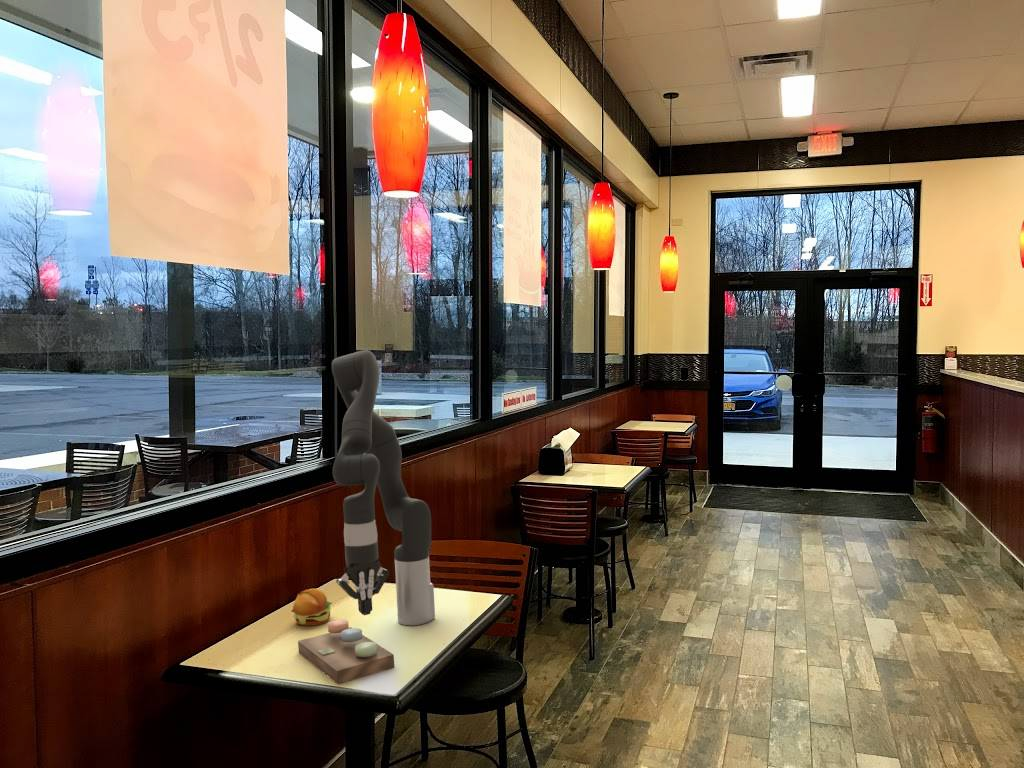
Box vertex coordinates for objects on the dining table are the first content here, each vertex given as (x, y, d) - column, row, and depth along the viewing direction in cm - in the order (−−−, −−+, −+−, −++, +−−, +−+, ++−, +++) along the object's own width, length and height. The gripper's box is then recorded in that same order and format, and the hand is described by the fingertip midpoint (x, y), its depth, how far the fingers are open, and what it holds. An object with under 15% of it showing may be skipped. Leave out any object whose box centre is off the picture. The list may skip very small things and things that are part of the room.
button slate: (357, 633, 198) (356, 626, 197) (365, 638, 193) (365, 632, 193) (337, 638, 195) (337, 631, 195) (346, 644, 191) (345, 637, 190)
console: (351, 638, 207) (350, 625, 207) (394, 667, 187) (393, 653, 187) (298, 652, 199) (297, 639, 199) (337, 684, 179) (336, 669, 179)
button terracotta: (343, 624, 204) (343, 618, 204) (351, 629, 200) (351, 623, 200) (325, 629, 201) (324, 623, 201) (332, 634, 197) (332, 628, 197)
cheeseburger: (337, 613, 227) (333, 582, 224) (326, 635, 217) (321, 603, 214) (302, 613, 228) (298, 582, 225) (289, 635, 218) (284, 603, 215)
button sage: (371, 646, 191) (371, 640, 191) (380, 653, 187) (380, 646, 187) (351, 652, 188) (351, 645, 188) (360, 658, 184) (360, 651, 184)
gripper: (379, 532, 193) (384, 603, 194) (327, 543, 185) (332, 616, 186) (394, 537, 187) (398, 611, 188) (340, 549, 179) (345, 625, 180)
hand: (365, 613), depth 187 cm, fingers closed
